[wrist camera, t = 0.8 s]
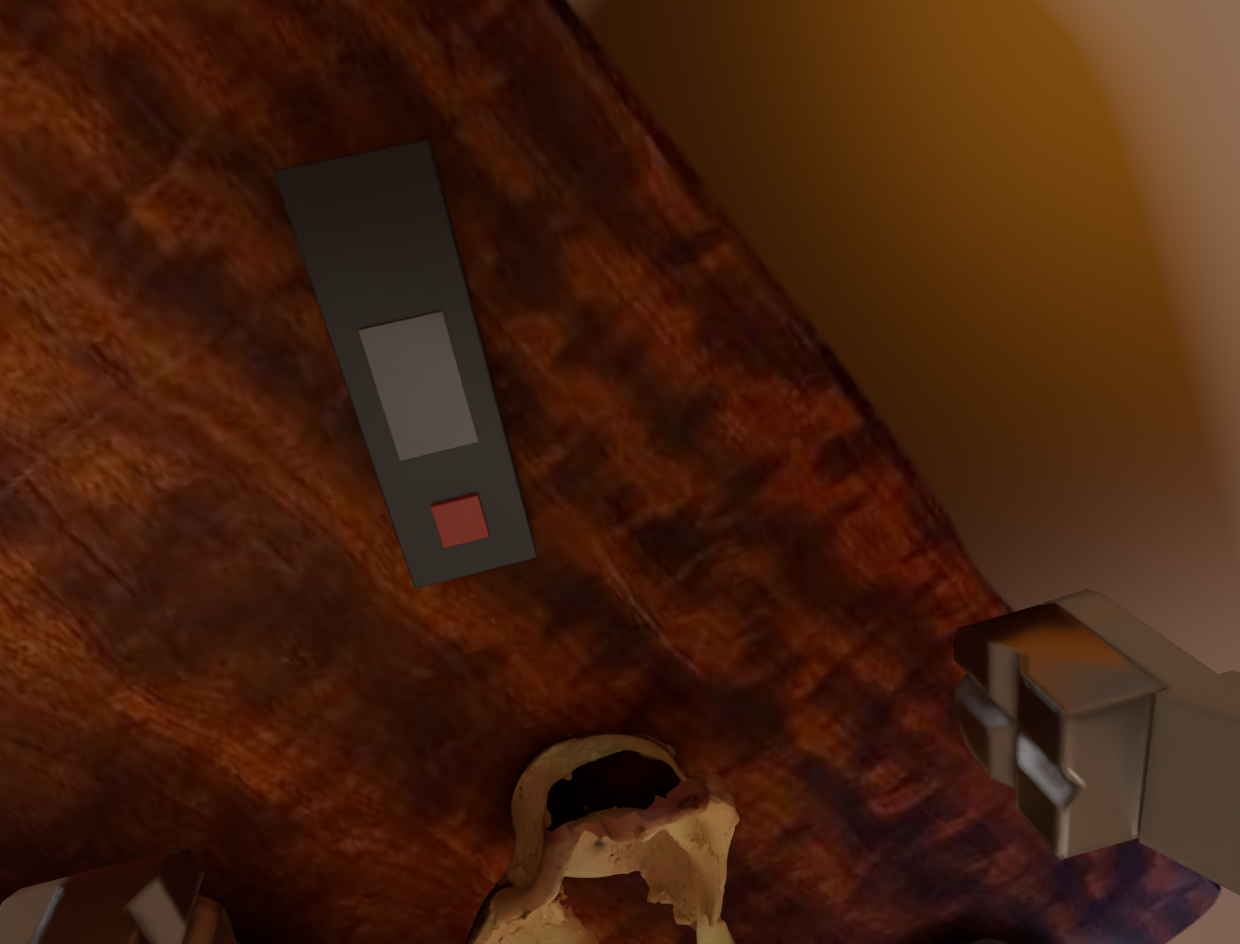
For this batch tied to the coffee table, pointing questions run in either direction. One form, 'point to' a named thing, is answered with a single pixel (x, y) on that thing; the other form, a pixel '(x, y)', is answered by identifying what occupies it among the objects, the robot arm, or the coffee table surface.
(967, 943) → the computer mouse
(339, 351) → the remote
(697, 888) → the bone
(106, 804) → the coffee table surface
